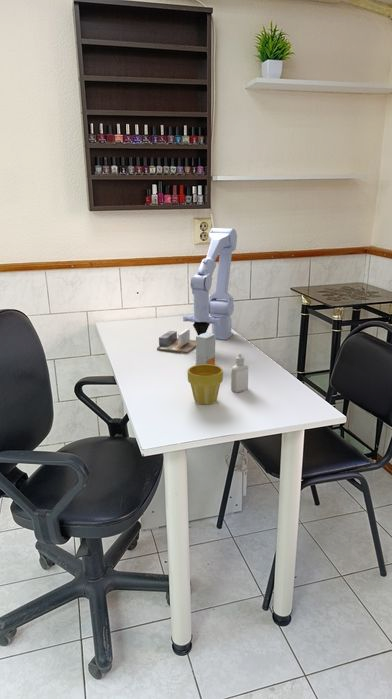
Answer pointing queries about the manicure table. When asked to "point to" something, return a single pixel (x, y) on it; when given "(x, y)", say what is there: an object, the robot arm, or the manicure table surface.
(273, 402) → the manicure table surface
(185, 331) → the paddle
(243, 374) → the eye dropper bottle
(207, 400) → the plant pot
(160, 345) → the gauge frame
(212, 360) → the skincare box
